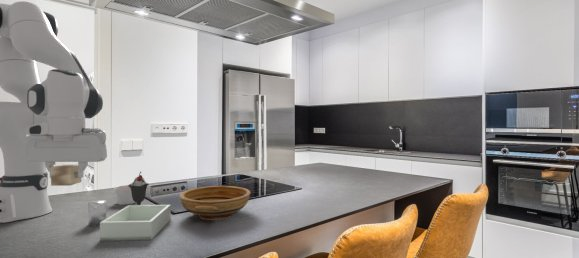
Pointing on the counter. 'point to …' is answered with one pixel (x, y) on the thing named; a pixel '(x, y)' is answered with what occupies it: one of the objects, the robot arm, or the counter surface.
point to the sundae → (138, 189)
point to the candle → (124, 195)
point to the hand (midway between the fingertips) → (66, 177)
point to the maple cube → (64, 175)
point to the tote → (135, 222)
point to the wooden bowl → (214, 201)
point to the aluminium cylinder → (97, 212)
